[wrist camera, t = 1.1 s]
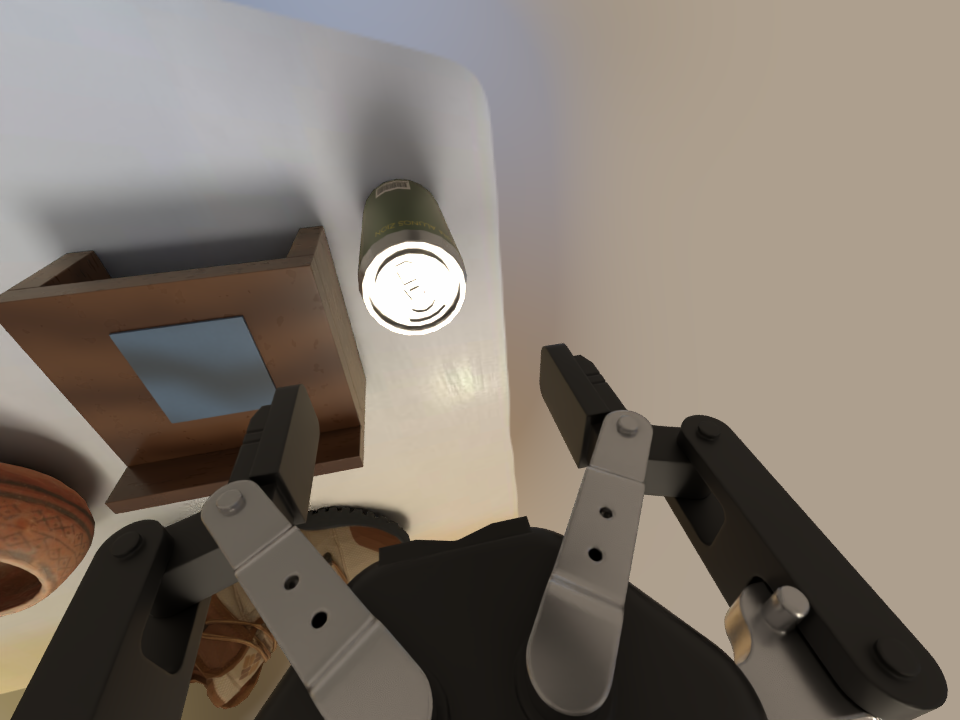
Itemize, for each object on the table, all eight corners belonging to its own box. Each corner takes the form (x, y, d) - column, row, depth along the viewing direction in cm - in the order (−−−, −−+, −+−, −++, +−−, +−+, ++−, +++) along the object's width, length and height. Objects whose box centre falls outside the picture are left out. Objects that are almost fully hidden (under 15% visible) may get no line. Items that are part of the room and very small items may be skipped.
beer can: (347, 197, 27) (333, 267, 18) (419, 162, 27) (443, 216, 18) (387, 264, 31) (392, 354, 21) (451, 234, 30) (485, 312, 21)
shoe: (408, 550, 53) (413, 684, 42) (170, 570, 47) (97, 736, 35) (413, 502, 48) (420, 641, 36) (143, 517, 41) (46, 693, 30)
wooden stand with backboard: (66, 253, 26) (-70, 336, 18) (323, 225, 28) (302, 288, 20) (174, 410, 34) (115, 514, 26) (366, 379, 36) (363, 467, 29)
